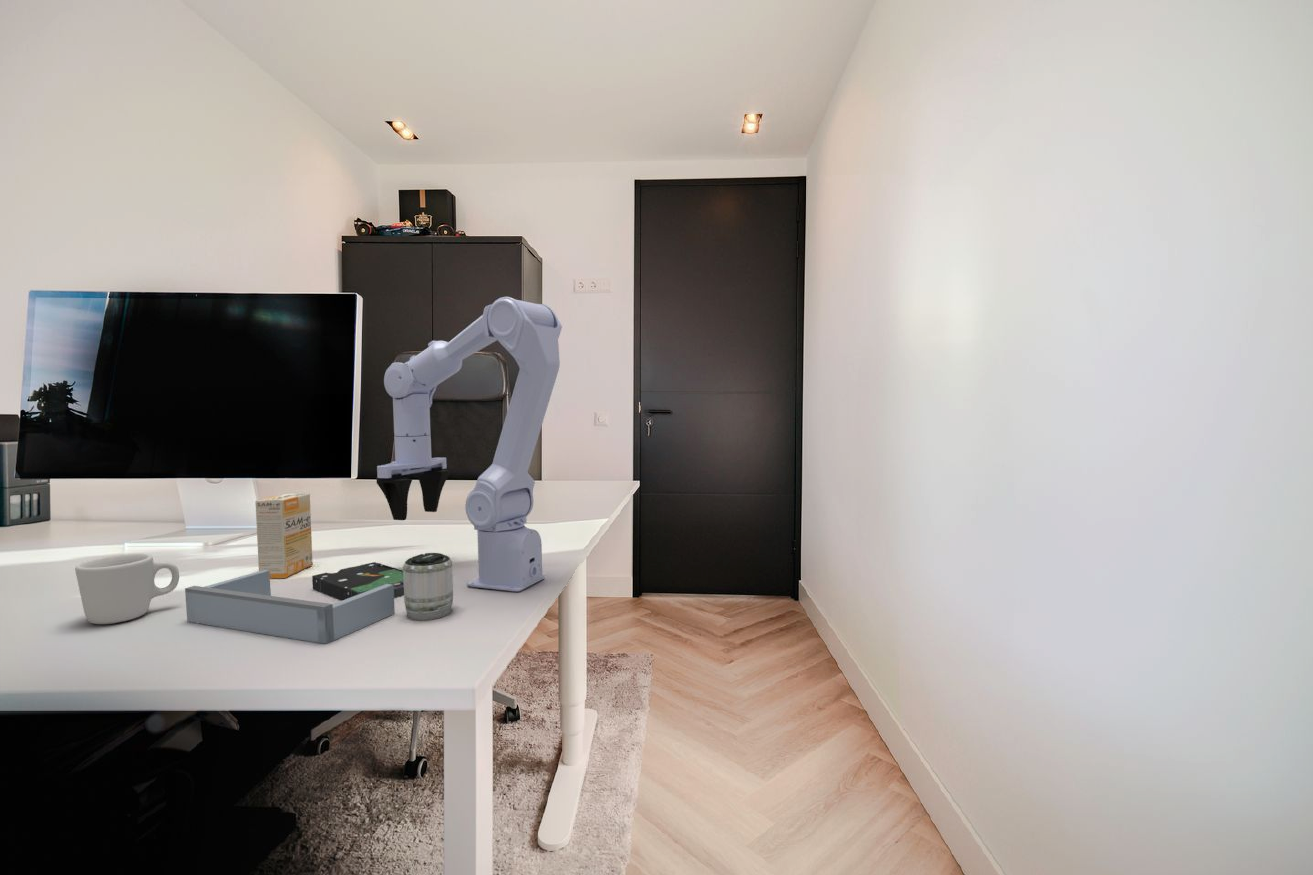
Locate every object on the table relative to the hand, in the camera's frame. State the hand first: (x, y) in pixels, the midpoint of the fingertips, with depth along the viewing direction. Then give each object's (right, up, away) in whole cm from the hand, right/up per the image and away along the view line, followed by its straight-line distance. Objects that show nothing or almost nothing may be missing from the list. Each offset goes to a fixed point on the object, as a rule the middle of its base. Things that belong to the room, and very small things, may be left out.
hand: (415, 515), depth 107 cm
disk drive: (-4, -11, -10) cm, 15 cm away
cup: (-31, -11, -21) cm, 39 cm away
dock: (-8, -11, -22) cm, 26 cm away
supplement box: (-22, -10, +1) cm, 24 cm away
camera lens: (+10, -11, -21) cm, 26 cm away
